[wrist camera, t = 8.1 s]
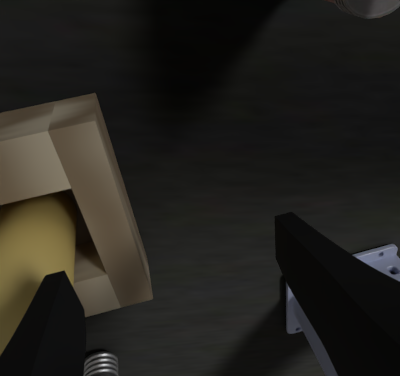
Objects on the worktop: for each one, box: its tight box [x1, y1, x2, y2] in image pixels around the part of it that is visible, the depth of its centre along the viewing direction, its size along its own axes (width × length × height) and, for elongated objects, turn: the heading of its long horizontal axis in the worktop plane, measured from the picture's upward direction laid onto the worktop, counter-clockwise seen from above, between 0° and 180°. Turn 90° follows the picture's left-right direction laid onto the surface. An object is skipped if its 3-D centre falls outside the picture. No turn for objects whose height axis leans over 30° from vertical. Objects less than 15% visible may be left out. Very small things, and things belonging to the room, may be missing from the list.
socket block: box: [0, 93, 153, 317], centre depth 20 cm, size 12×12×4 cm
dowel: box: [0, 191, 77, 355], centre depth 18 cm, size 4×4×8 cm
